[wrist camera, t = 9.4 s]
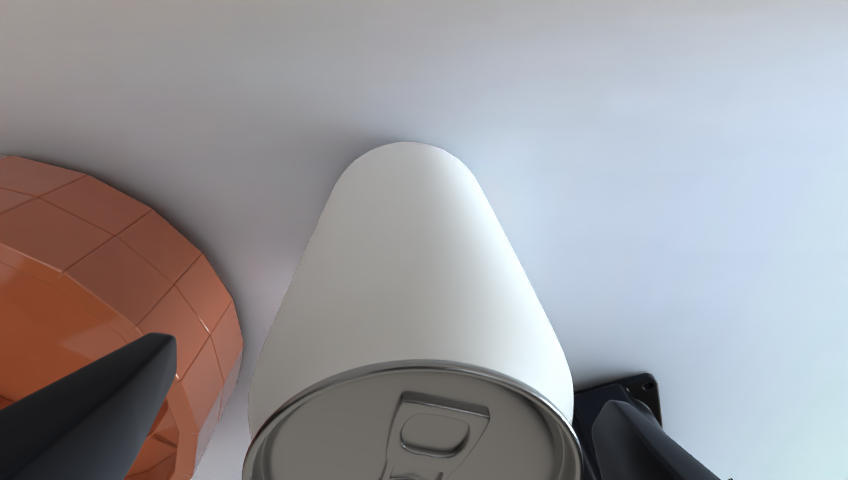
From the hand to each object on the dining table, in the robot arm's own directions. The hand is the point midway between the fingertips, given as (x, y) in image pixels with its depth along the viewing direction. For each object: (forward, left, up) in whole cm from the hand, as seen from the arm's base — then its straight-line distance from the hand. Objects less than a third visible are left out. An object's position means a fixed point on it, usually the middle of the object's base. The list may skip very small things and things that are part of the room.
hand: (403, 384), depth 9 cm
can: (0, 0, -10) cm, 10 cm away
